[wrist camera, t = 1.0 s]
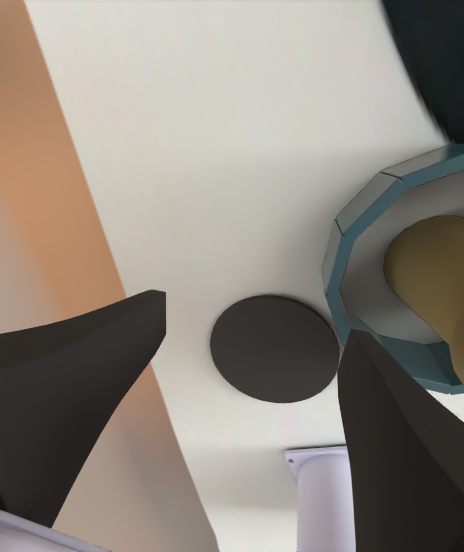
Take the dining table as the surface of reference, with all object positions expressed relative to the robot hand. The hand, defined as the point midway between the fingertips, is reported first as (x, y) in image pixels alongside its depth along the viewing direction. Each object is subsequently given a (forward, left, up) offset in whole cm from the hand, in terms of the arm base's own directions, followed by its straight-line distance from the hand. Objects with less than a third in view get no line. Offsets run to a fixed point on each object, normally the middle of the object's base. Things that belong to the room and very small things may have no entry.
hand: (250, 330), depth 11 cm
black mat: (-8, +3, -10) cm, 14 cm away
